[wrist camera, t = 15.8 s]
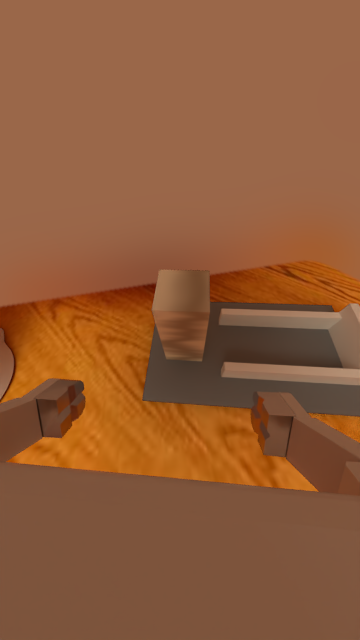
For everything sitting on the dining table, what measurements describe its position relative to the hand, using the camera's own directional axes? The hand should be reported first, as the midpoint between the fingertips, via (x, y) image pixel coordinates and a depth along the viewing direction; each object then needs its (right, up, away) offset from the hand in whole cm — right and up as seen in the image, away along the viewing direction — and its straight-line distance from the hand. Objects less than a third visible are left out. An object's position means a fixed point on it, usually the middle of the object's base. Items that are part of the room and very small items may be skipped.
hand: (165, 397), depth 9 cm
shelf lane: (+10, 0, +18) cm, 21 cm away
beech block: (+1, 0, +19) cm, 19 cm away
